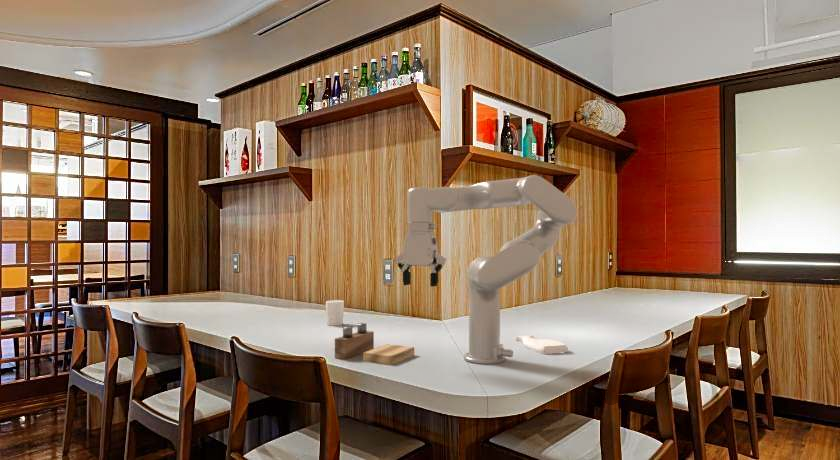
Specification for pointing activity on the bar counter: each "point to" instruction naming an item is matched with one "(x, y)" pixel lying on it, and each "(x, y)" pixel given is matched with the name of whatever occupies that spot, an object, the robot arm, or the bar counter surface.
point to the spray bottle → (542, 345)
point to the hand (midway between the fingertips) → (420, 285)
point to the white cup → (334, 312)
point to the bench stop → (354, 342)
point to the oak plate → (388, 354)
